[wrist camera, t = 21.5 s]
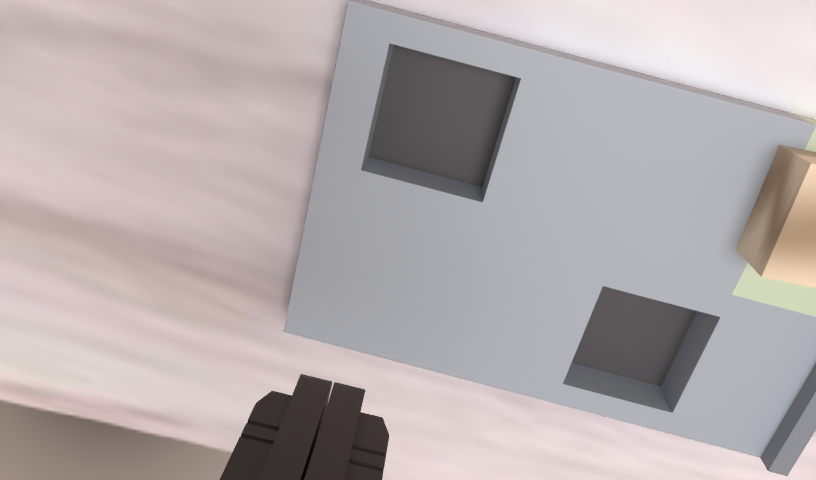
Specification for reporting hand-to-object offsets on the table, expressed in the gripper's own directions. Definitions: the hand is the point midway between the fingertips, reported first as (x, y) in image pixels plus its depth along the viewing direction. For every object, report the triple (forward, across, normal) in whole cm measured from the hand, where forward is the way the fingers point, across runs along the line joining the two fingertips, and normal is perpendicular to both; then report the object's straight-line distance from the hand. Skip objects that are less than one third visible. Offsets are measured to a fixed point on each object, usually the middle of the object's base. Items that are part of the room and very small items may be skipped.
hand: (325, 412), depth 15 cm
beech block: (+22, -22, -2) cm, 31 cm away
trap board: (+26, -11, +4) cm, 28 cm away
